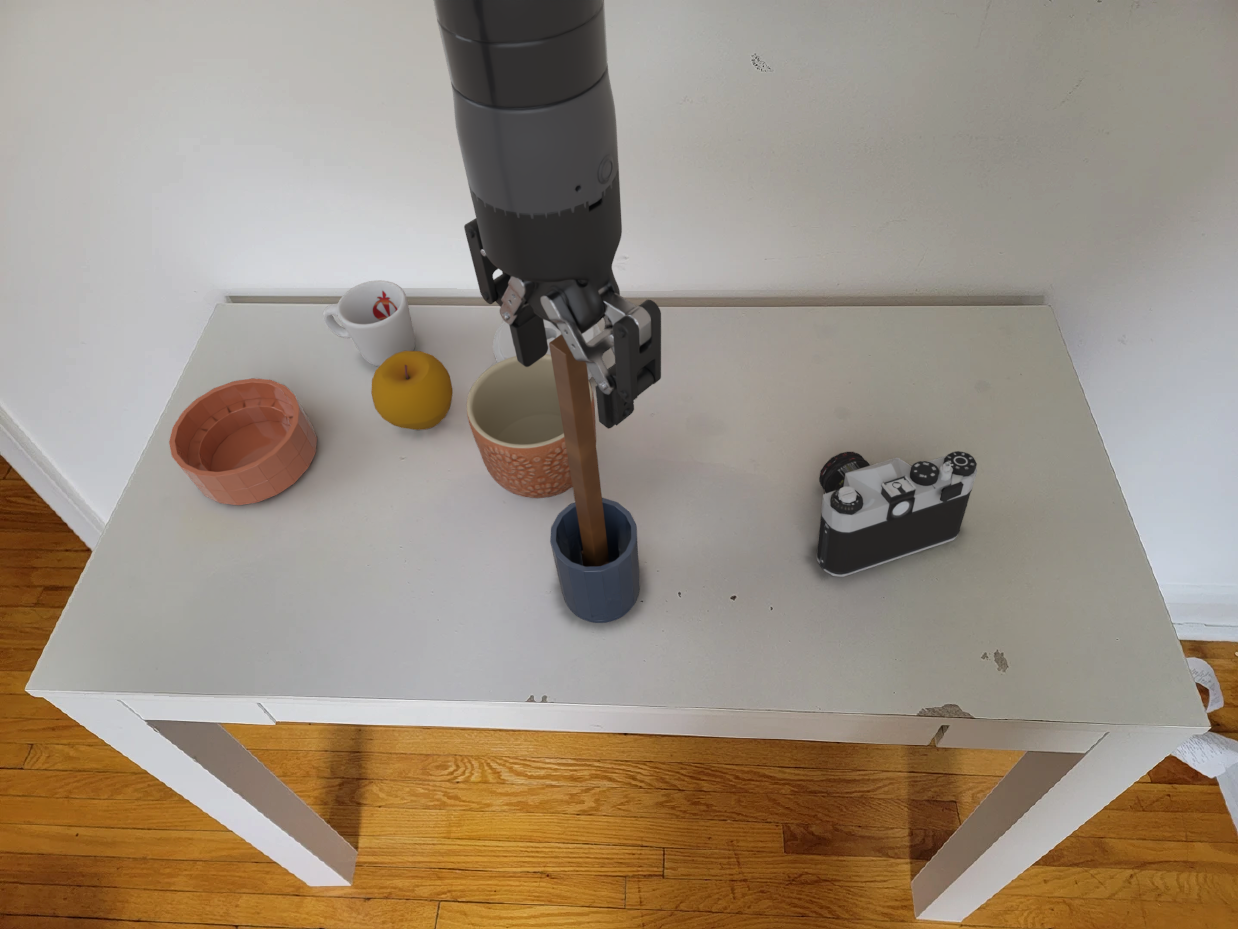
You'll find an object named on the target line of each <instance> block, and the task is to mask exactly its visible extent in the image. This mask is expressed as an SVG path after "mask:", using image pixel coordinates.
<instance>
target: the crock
mask: <svg viewBox="0 0 1238 929" xmlns="http://www.w3.org/2000/svg"><path fill="white" fill-rule="evenodd" d="M602 503H603V511H604V520H605V529H606V538H607V546H608V555H609V563H608V564H605V565H603V566H592V567H585V566H583V562H582V556H581V551H582V550H583V546H582V540H581V534H580V528H579V522H578V516H577V510H576V504H575V501H574V502H572V503H570V504H568V505H567V506H566V507H565V508H564V509H562V510H561V511H559V513H558V514H557V515H556V517H555V519H554V521H553V524H552V525H551V527H550V539H549V543H550V546H551V551H552V555H553V559H554V564H555V569H556V573H557V578H558V582H559V587H560V590H561V594H562V597H563V600H564V602H565V604H566V606H567V608H568V609H569V610H570V611H571V612H572V614H573V615H575V616H576V617H578V618H579V619H581V620H583V621H585V622H589V623H593V624H607V623H611V622H614V621H617V620H619V619H622V617H624V616H625V615H627V614H628V613H629V612H630V611H631V610H632V609H633V607H635V604H636V603H637V601H638V599H639V594H640V590H641V588H640V587H641V584H640V563H639V562H640V560H639V545H638V544H639V542H638V526H637V523H636V521H635V519H634V517H633V515H632V513H631V512H630V510H628V509H627V508H626V507H625V506H623V505H622V504H621V503H619V502H618V501H616V500H613V499H609V498H606V497H602Z"/></svg>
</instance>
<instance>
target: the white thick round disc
mask: <svg viewBox="0 0 1238 929" xmlns="http://www.w3.org/2000/svg"><path fill="white" fill-rule="evenodd" d="M543 320H544V319H543ZM544 326H545V332H546V338H547V344H548V351H547V353H546V354H549V355H551V353H550V347H549V343H550V342H551V341H552V340H554V339H555V338H557V337H558V336H559V335H561V332H560V331H559V330H558V329H557V328H556V327H555V326H554V325H553V324H552V323H551V322H549V321H547V320H544ZM601 332H602V331H601V329H600V327H599V324H598V323H597V324H596V325H594V326H593V327H591V328H590V329H589V330H587V331H586V332H584V333H583V334H582V336H583V338H584V339H585V341H586V343H587V342H588V341H590V340H591V339H592V338H594V337H595V336H597V335H598V334H599V333H601ZM492 352H493V355H494V359H495V361H496V362H495V363H498V362H500V361H503V360H505V359H508V358H511V357H514V356H516V351H515V347H514V344H513V340H512V334H511V331H510V326H509V324H507V323H506V322H505V321H504V320H503V322H502V323H501V324H500V325H499V327H498V328H497V329H496V332H495V334H494V337H493V340H492ZM587 371H588V380H589V381H590V380H591V379H593V376H592V374H591V372H590V370H589V368H588V366H587Z"/></svg>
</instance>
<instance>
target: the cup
mask: <svg viewBox="0 0 1238 929" xmlns="http://www.w3.org/2000/svg"><path fill="white" fill-rule="evenodd" d="M334 316H336V317H338V319H339V321H340V323H341V324H342V325H340V323H338V322H337V321H336V320H335V318H334ZM322 318H323V322H324V324H325V325H326V327H327V328H328V330H330V332H331V333H333V334H334V335H335V336H338V337H339V338H343V339H344V338H345V339H351V341H352V342H353V344H354V345H355V347H356V349H357V350H358V352H359V354H360V355H361V356H362V358H363V359H364V360H365V361H366V362H367V363H369V364H370V365H371V366H375V367H379V366H380V365H381V364H382V363H383V362H384V361H385V360H386V359H388V358H389V357H391V356H392V355H394V354H395V353H399V352H403V351H415V349H416V348H415V347H416V335H415V330H414V324H413V320H412V315H411V310H410V306H409V302H408V297H407V294H406V291H405V290H404V289H403V288H402V287H401V286H400V285H398V284H397V283H395V282H392V281H389V280H382V279H381V280H371V281H369V280H368V281H366V282H362V283H360V284H357V285H355V286H353V287H351V288H350V289H349V290H347V291H346V292H345V293H344V294H342V296H341V297H340V299H339V301H338V303H331V304H329V305H327V306H326V307H325V309H324V310H323V313H322Z"/></svg>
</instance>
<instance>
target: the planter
mask: <svg viewBox="0 0 1238 929" xmlns="http://www.w3.org/2000/svg"><path fill="white" fill-rule="evenodd" d="M589 389H590V398H591V406H592V415H593V424H594V433H595V441H596V442H597V429H596V428H597V427H596V426H597V425H596V405H595V396H594V391H593V387H592V384H591V382H590V381H589ZM466 417H467V420H468V424H469V427H470V431H471V433H472V436H473V438H474V441H475V444H476V446H477V449H478V451H479V453H480V456H481V460H482V462H483V464H484V466H485V469H486V470H487V472H488V473H489V475H490V477H491V478H492V479H493V480H494V481H495V482H496V483H497V484H498V485H499V486H500V487H501V488H503V489H504V490H506V491H508V492H509V493H511V494H513V495H516V496H519V497H523V498H529V499H545V498H551V497H555V496H559V495H561V494H563V493H565V492H567V491H569V490H570V489H571V490H572V489H573V486H572V480H571V474H570V467H569V461H568V455H567V449H566V443H565V437H564V431H563V425H562V419H561V413H560V407H559V401H558V395H557V389H556V383H555V377H554V371H553V365H552V359H551V355H549V354H545V356H543V357H542V358H541V359H539V360H538V361H536V362H535V363H534V364H532V365H531V366H529V367H525V366H524V365H522V364H521V363H520V362H518V360H517V356H514V357H511V358H508V359H505V360H503V361H500V362H498V363H497V362H495V363H494V364H493V365H491V366H490V367H489V368H487V369H486V370H485V371H483V372H482V373H481V374H480V375H479V376H478V378H476V380H475V381H474V382H473V384H472V386H471V388H470V390H469V392H468V395H467V399H466Z"/></svg>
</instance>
